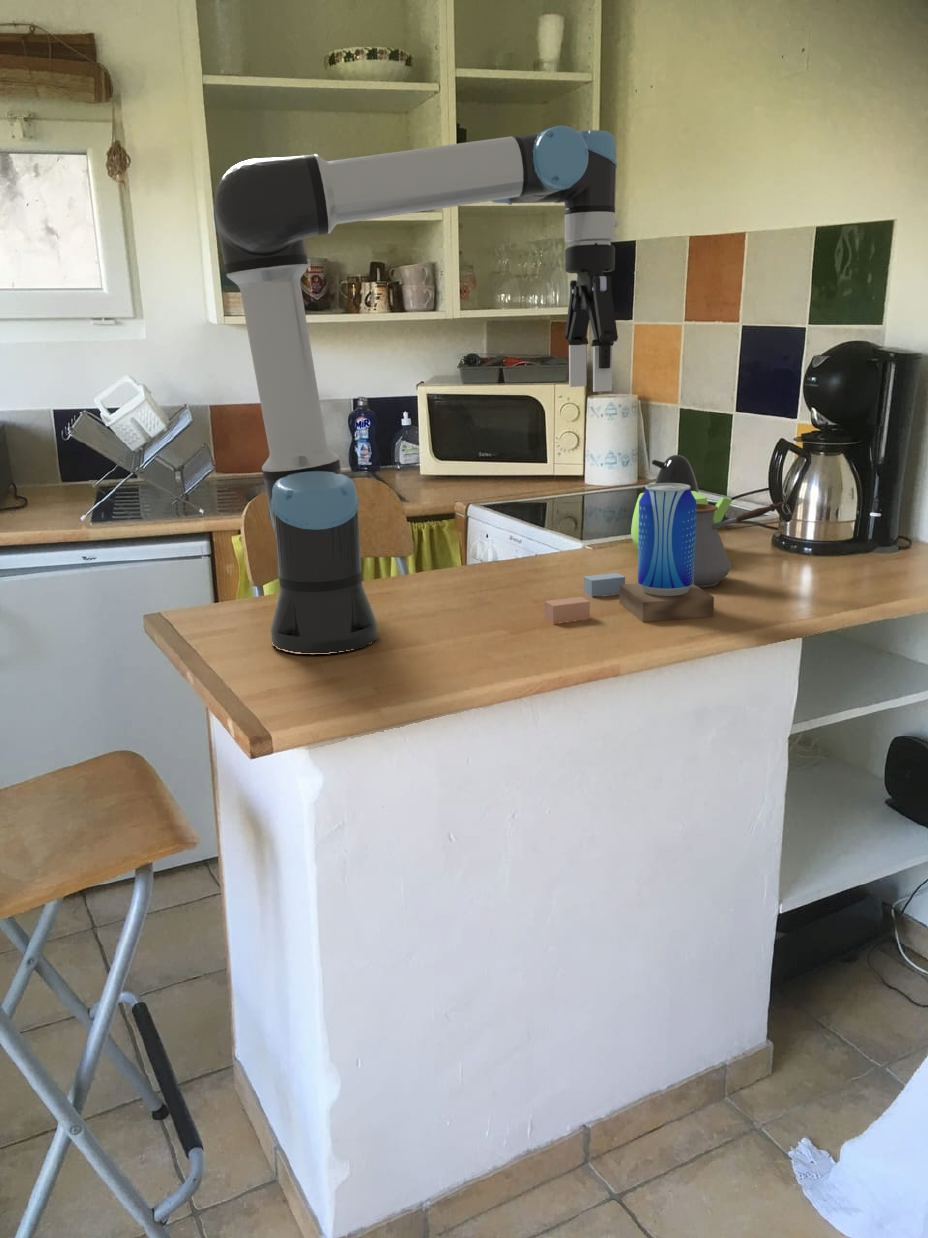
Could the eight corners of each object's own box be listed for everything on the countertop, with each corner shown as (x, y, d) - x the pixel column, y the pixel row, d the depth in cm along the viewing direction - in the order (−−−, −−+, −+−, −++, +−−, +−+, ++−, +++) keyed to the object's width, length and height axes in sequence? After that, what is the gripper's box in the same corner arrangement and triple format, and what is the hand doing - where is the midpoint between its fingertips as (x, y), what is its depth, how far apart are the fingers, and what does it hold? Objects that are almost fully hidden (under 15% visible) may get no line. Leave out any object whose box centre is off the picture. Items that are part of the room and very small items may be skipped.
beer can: (689, 599, 150) (693, 491, 146) (633, 595, 153) (634, 489, 149) (696, 585, 158) (700, 482, 154) (642, 582, 161) (644, 481, 156)
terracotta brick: (552, 625, 151) (552, 606, 150) (544, 620, 154) (544, 601, 153) (589, 620, 153) (589, 601, 152) (581, 615, 155) (581, 596, 155)
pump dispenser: (643, 522, 223) (645, 453, 219) (690, 520, 224) (692, 450, 220) (657, 531, 214) (659, 458, 209) (705, 529, 215) (708, 456, 210)
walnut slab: (642, 621, 150) (643, 602, 150) (619, 603, 161) (619, 584, 160) (713, 616, 152) (714, 596, 151) (685, 597, 162) (686, 579, 162)
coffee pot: (648, 584, 172) (649, 496, 167) (681, 571, 180) (684, 486, 176) (768, 603, 158) (773, 507, 154) (798, 587, 166) (804, 496, 162)
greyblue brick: (591, 598, 165) (591, 580, 164) (583, 594, 167) (583, 576, 167) (624, 594, 166) (625, 576, 166) (616, 590, 169) (616, 572, 168)
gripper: (641, 236, 142) (638, 392, 148) (590, 250, 166) (590, 383, 172) (589, 238, 141) (588, 394, 147) (545, 251, 165) (546, 385, 171)
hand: (589, 388), depth 159 cm, fingers open, 13 cm apart
